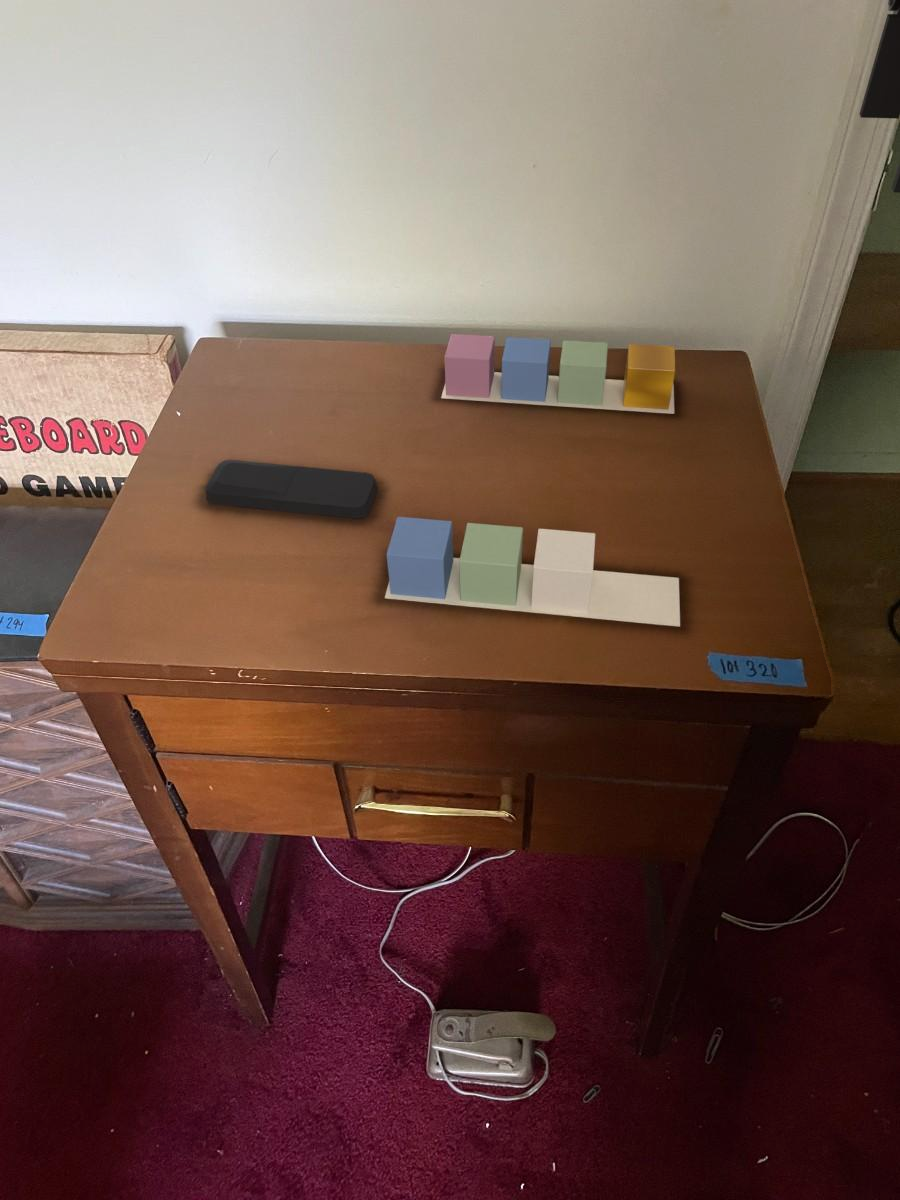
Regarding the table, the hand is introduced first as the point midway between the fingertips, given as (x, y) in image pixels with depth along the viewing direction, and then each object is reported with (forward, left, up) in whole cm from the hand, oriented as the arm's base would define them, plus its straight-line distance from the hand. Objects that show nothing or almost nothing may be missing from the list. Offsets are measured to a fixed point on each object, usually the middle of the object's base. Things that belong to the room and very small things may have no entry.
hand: (895, 151), depth 63 cm
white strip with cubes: (+7, +30, -27) cm, 40 cm away
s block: (+16, +1, -27) cm, 31 cm away
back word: (+24, +7, -27) cm, 36 cm away
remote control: (+30, +35, -27) cm, 53 cm away
